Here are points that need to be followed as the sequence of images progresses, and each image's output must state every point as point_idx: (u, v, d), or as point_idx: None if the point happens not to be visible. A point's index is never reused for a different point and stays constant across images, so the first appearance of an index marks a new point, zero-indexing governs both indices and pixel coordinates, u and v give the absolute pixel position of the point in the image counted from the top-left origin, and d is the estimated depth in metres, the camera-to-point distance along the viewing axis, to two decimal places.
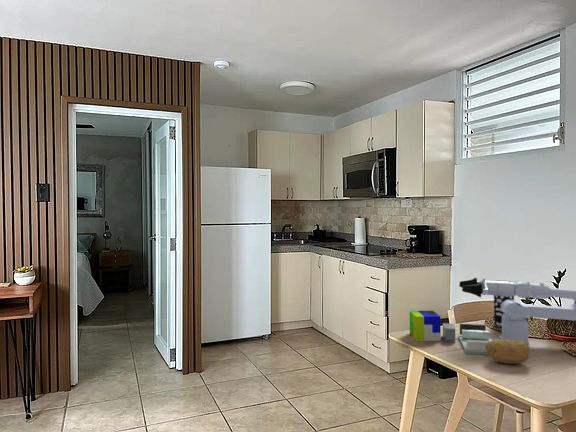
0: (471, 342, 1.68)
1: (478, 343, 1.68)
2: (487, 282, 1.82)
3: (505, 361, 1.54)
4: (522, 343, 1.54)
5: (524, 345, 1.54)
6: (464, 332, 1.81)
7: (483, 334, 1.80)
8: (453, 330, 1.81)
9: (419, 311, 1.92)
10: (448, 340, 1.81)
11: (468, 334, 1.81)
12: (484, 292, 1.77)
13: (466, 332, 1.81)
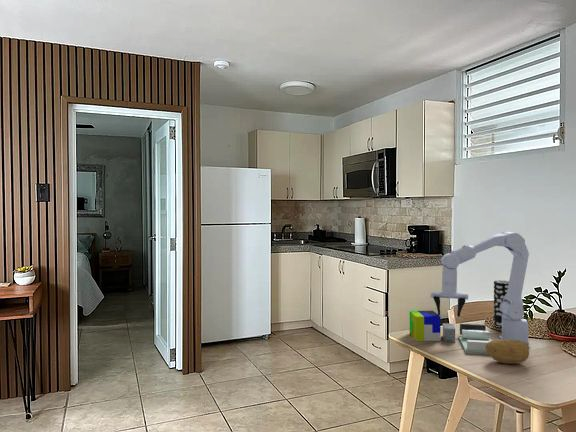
0: (471, 342, 1.68)
1: (478, 343, 1.68)
2: (453, 293, 1.82)
3: (505, 361, 1.54)
4: (522, 343, 1.54)
5: (524, 345, 1.54)
6: (464, 332, 1.81)
7: (483, 334, 1.80)
8: (453, 330, 1.81)
9: (419, 311, 1.92)
10: (448, 340, 1.81)
11: (468, 334, 1.81)
12: (467, 297, 1.83)
13: (466, 332, 1.81)
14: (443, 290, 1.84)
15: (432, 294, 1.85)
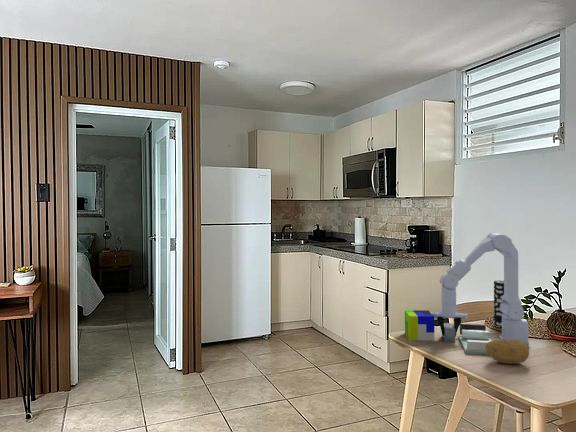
0: (471, 342, 1.68)
1: (478, 343, 1.68)
2: (452, 313, 1.82)
3: (505, 361, 1.54)
4: (522, 343, 1.54)
5: (524, 345, 1.54)
6: (464, 332, 1.81)
7: (483, 334, 1.80)
8: (453, 330, 1.81)
9: (414, 311, 1.92)
10: (448, 339, 1.81)
11: (468, 334, 1.81)
12: None
13: (466, 332, 1.81)
14: (443, 310, 1.84)
15: (432, 314, 1.85)
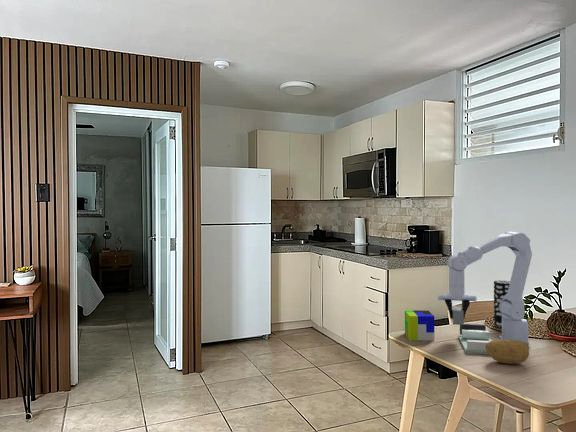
0: (471, 342, 1.68)
1: (478, 343, 1.68)
2: (461, 295, 1.79)
3: (505, 361, 1.54)
4: (522, 343, 1.54)
5: (524, 345, 1.54)
6: (464, 332, 1.81)
7: (483, 334, 1.80)
8: (461, 312, 1.78)
9: (414, 311, 1.92)
10: (456, 322, 1.78)
11: (468, 334, 1.81)
12: None
13: (466, 332, 1.81)
14: (451, 292, 1.81)
15: (440, 297, 1.82)
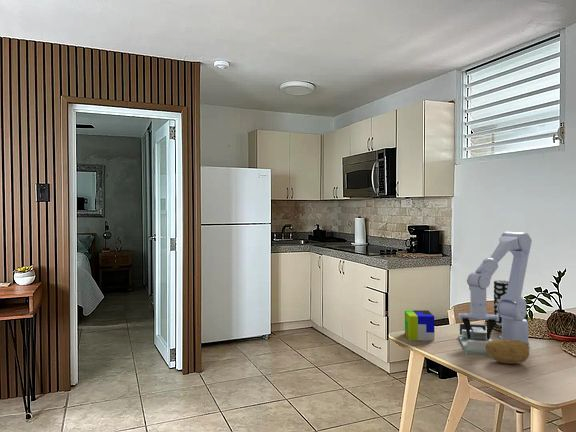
0: (471, 342, 1.68)
1: (478, 343, 1.68)
2: (483, 314, 1.72)
3: (505, 361, 1.54)
4: (522, 343, 1.54)
5: (524, 345, 1.54)
6: (464, 332, 1.81)
7: None
8: (483, 334, 1.71)
9: (414, 311, 1.92)
10: None
11: None
12: None
13: (466, 332, 1.81)
14: (472, 311, 1.74)
15: (460, 316, 1.75)
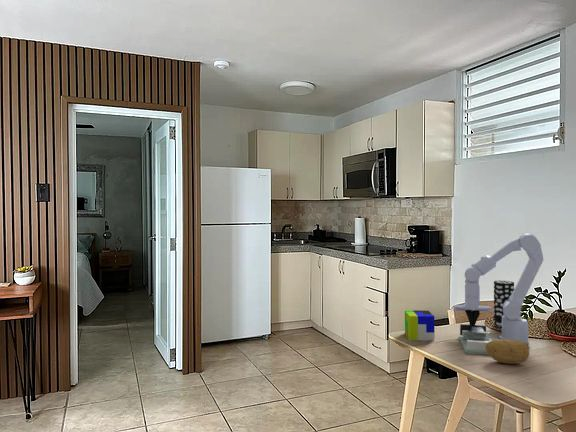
0: (471, 342, 1.68)
1: (478, 343, 1.68)
2: (476, 306, 1.85)
3: (505, 361, 1.54)
4: (522, 343, 1.54)
5: (524, 345, 1.54)
6: (464, 333, 1.80)
7: None
8: (483, 334, 1.71)
9: (414, 311, 1.92)
10: None
11: (468, 335, 1.80)
12: (490, 310, 1.87)
13: (466, 333, 1.80)
14: (466, 303, 1.87)
15: (455, 307, 1.89)
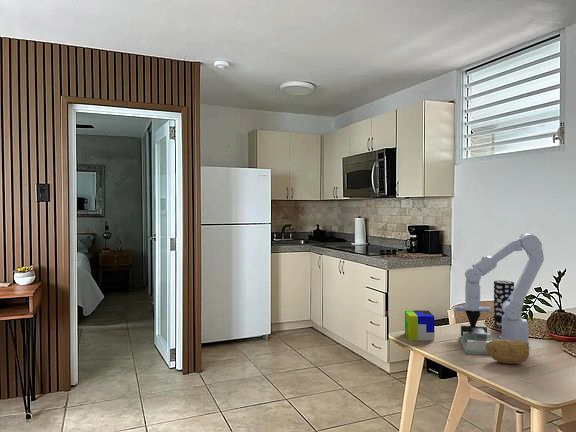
0: (471, 342, 1.68)
1: (478, 343, 1.68)
2: (477, 306, 1.84)
3: (505, 361, 1.54)
4: (522, 343, 1.54)
5: (524, 345, 1.54)
6: (465, 334, 1.78)
7: None
8: (484, 335, 1.69)
9: (414, 311, 1.92)
10: None
11: (469, 336, 1.78)
12: None
13: (467, 334, 1.78)
14: (467, 304, 1.86)
15: (456, 308, 1.87)
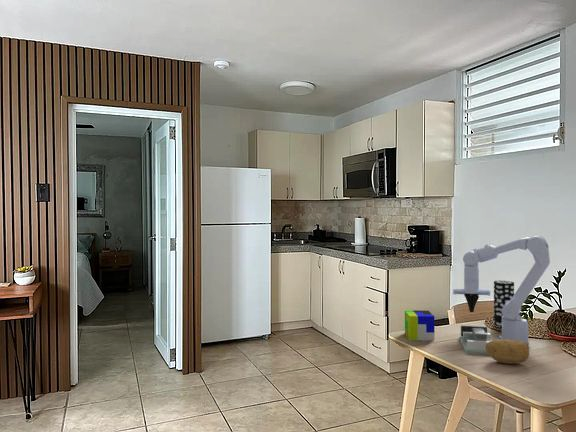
0: (471, 342, 1.68)
1: (478, 343, 1.68)
2: (475, 289, 1.87)
3: (505, 361, 1.54)
4: (522, 343, 1.54)
5: (524, 345, 1.54)
6: (465, 334, 1.78)
7: None
8: (484, 335, 1.69)
9: (414, 311, 1.92)
10: None
11: (469, 336, 1.78)
12: (489, 293, 1.89)
13: (467, 334, 1.78)
14: (465, 287, 1.89)
15: (455, 291, 1.91)
